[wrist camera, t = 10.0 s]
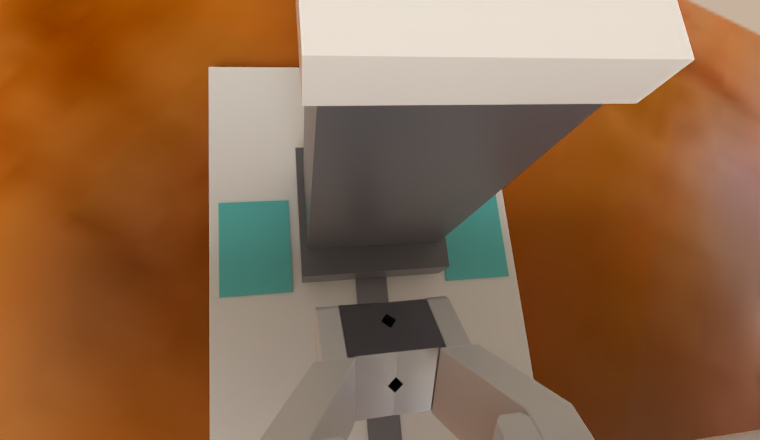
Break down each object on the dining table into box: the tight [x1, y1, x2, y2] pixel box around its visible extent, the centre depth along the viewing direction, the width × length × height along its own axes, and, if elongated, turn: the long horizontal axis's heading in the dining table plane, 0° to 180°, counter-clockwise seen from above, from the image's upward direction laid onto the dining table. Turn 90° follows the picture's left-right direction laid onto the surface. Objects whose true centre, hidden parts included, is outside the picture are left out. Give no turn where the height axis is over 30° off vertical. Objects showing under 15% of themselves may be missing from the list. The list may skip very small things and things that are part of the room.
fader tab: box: [295, 0, 695, 283], centre depth 11 cm, size 4×4×11 cm
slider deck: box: [209, 67, 534, 440], centre depth 15 cm, size 24×10×2 cm, turn 6°
